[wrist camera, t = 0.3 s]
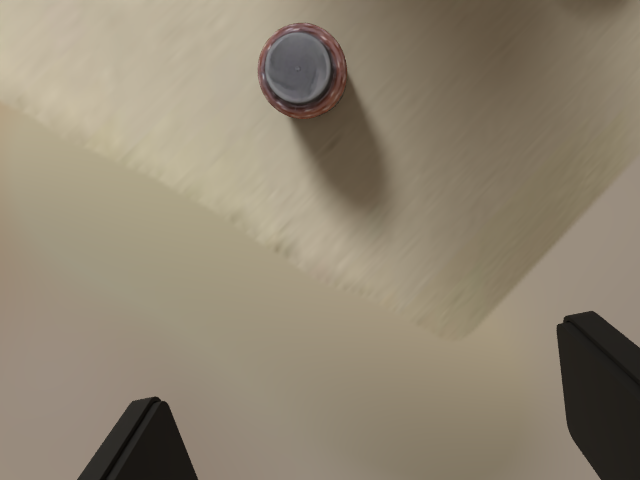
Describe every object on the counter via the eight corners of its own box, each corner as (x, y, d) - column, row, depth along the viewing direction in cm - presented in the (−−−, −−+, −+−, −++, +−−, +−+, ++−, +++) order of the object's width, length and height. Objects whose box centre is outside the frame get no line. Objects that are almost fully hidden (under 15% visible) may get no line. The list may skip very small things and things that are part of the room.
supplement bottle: (346, 40, 36) (350, 12, 26) (345, 116, 38) (348, 120, 27) (273, 40, 37) (246, 13, 26) (275, 116, 38) (251, 120, 28)
